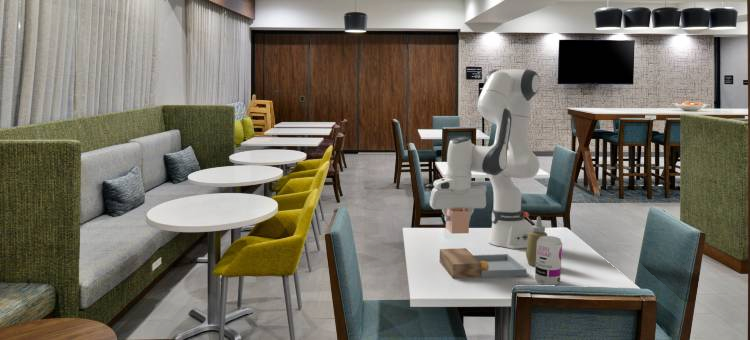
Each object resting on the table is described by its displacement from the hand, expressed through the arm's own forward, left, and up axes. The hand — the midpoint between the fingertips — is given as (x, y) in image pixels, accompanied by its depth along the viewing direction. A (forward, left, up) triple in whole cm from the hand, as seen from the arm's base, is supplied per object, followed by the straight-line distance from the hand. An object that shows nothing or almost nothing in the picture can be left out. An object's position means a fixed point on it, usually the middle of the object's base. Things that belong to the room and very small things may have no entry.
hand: (457, 220), depth 207 cm
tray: (-13, +5, -17) cm, 22 cm away
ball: (-7, +9, -15) cm, 18 cm away
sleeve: (0, 0, -4) cm, 4 cm away
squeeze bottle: (-30, +2, -17) cm, 35 cm away
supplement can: (-26, +20, -17) cm, 37 cm away
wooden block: (0, +4, -17) cm, 17 cm away
